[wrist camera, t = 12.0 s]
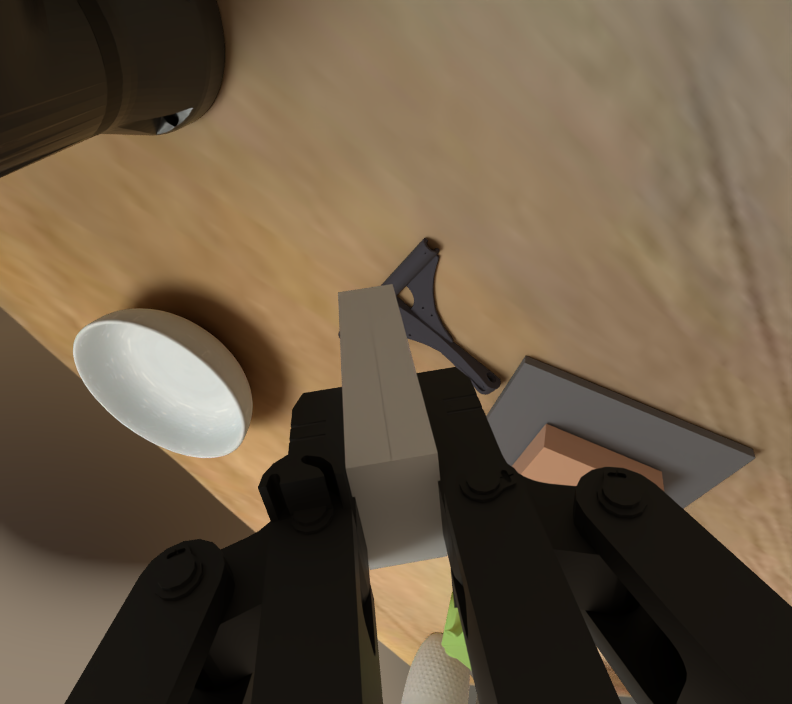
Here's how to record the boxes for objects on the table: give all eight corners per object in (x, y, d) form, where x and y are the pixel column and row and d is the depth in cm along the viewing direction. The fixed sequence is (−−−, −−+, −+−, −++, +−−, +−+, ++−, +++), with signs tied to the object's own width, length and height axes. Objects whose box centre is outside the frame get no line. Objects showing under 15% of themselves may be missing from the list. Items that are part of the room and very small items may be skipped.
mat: (436, 492, 63) (434, 499, 62) (525, 355, 45) (524, 362, 45) (597, 561, 62) (597, 568, 62) (752, 449, 45) (755, 457, 44)
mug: (505, 659, 90) (495, 745, 81) (471, 667, 98) (458, 747, 88) (437, 621, 88) (419, 705, 79) (407, 633, 96) (387, 710, 86)
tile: (546, 421, 48) (483, 499, 59) (543, 447, 46) (479, 523, 57) (661, 469, 48) (577, 538, 59) (665, 497, 46) (576, 564, 57)
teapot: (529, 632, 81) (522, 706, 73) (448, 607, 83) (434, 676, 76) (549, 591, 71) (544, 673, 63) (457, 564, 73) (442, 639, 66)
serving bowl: (286, 431, 64) (261, 474, 59) (151, 402, 69) (117, 439, 64) (250, 298, 51) (213, 339, 46) (86, 274, 56) (37, 308, 51)
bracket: (451, 409, 54) (446, 428, 52) (341, 326, 51) (331, 343, 48) (553, 339, 44) (552, 359, 42) (426, 233, 41) (418, 249, 39)
